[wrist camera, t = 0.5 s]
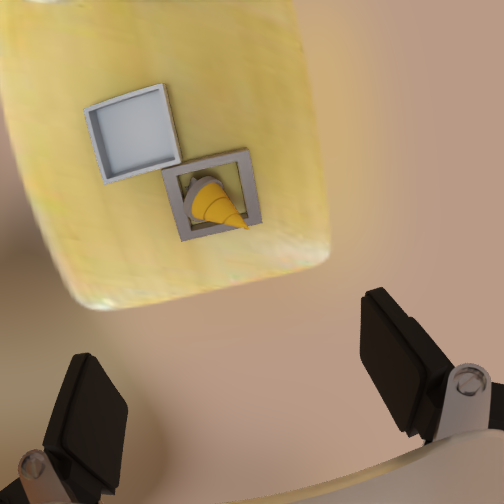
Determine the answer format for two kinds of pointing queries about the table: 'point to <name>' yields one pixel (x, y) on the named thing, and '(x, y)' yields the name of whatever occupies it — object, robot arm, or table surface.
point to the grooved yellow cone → (211, 203)
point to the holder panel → (173, 171)
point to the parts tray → (133, 133)
